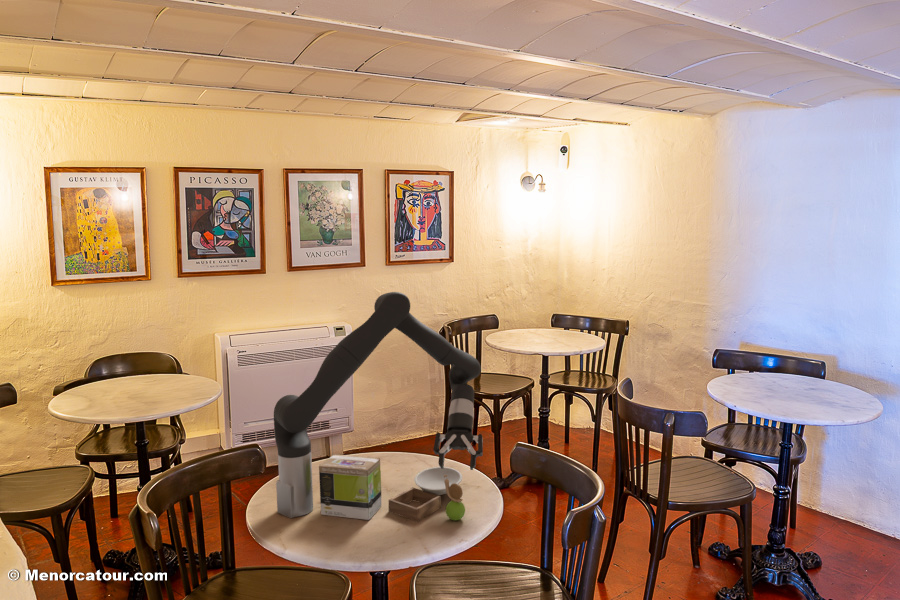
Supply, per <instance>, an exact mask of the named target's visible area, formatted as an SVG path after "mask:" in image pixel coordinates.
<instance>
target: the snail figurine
mask: <svg viewBox="0 0 900 600" xmlns="http://www.w3.org/2000/svg"><path fill="white" fill-rule="evenodd" d="M446 476H447V475H444V477H446ZM444 482H445V487H446V492H447V493H446V495H447V496H448V498H449V499H450V501H449V502H448V503H447V504H446V506H445V514H446V517H448V519H450V520H451V521H460V520H461V519H463V517H464V516H465V513H466V507H465V504H464V503H463V499H462V496H463V488H462V487H461V486H460V484H456V483H454V484H452V485H451V486H449V480H448V479H445V481H444Z"/></svg>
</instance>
